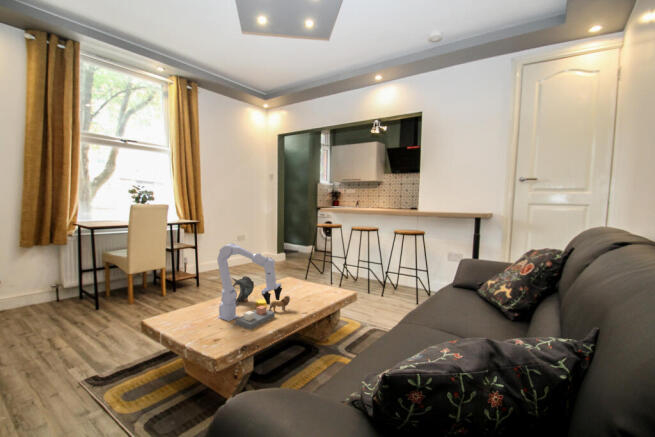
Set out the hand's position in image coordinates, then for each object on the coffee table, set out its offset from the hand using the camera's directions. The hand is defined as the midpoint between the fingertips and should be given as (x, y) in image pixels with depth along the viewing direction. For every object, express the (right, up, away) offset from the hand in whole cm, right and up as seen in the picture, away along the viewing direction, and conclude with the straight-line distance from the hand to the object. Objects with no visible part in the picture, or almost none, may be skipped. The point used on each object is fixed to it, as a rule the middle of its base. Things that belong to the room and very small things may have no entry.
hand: (273, 302), depth 178 cm
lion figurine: (+1, -10, +15) cm, 18 cm away
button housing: (-10, -11, -1) cm, 15 cm away
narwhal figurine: (-26, -8, +27) cm, 38 cm away
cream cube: (-13, -8, -6) cm, 16 cm away
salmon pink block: (-8, -8, +3) cm, 11 cm away
